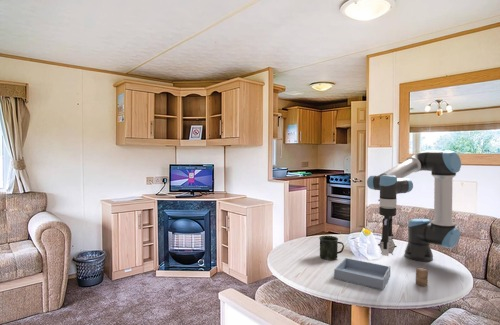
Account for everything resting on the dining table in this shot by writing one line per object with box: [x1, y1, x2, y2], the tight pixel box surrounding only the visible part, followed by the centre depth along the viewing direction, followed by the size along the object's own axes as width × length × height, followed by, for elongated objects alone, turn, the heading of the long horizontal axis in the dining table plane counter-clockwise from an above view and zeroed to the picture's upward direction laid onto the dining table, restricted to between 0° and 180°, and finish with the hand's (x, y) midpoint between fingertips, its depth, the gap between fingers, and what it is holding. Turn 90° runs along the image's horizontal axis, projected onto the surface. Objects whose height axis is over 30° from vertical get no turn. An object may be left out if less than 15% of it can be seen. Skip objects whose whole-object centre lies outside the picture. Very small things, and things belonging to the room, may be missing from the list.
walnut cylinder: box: [415, 267, 429, 287], centre depth 151 cm, size 5×5×7 cm
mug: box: [318, 235, 345, 261], centre depth 187 cm, size 11×15×12 cm
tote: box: [333, 257, 391, 291], centre depth 159 cm, size 19×23×5 cm
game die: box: [377, 235, 398, 256], centre depth 151 cm, size 9×8×10 cm
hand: (386, 252), depth 151 cm, fingers closed on game die, 10 cm apart
